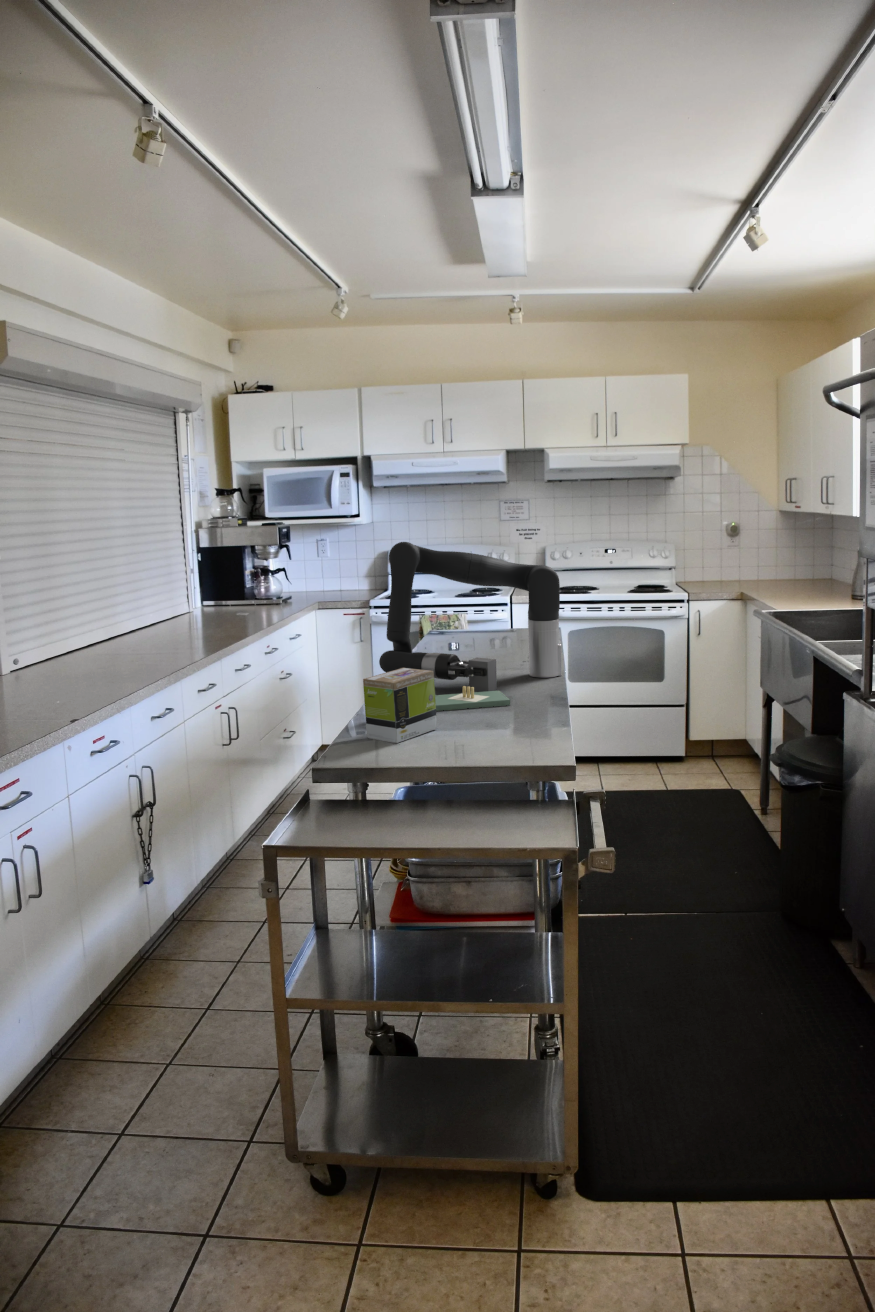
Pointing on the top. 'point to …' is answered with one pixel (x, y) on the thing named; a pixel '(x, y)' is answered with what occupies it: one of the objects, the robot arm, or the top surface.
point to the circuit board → (470, 700)
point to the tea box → (400, 704)
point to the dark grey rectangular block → (483, 681)
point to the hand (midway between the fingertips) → (490, 670)
